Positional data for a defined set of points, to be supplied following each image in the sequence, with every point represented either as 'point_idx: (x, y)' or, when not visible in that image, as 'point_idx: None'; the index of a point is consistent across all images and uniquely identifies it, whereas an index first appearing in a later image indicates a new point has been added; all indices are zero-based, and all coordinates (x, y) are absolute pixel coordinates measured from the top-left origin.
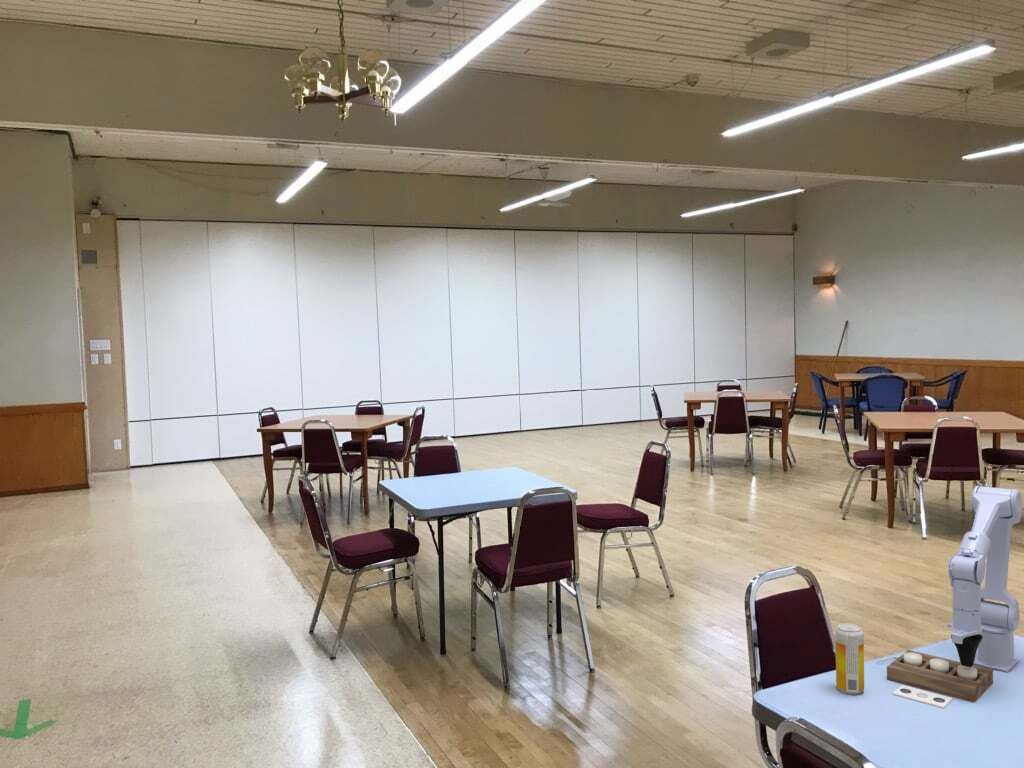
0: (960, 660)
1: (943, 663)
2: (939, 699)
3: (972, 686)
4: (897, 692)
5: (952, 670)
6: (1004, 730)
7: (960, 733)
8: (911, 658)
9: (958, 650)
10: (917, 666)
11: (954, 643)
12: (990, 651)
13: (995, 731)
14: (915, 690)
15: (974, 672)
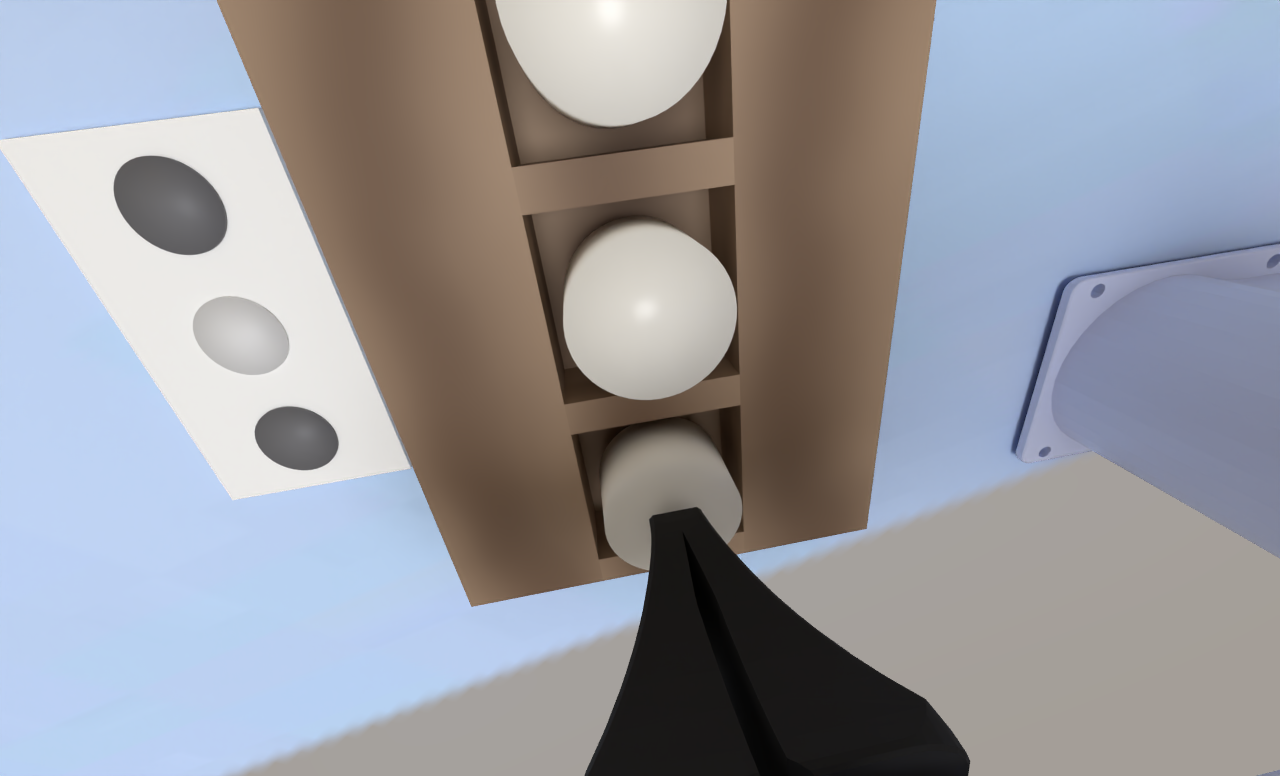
0: (652, 542)
1: (640, 365)
2: (301, 440)
3: (493, 587)
4: (64, 170)
5: None
6: (319, 711)
7: (62, 661)
8: (506, 30)
9: (639, 636)
10: (557, 109)
11: (611, 714)
12: (1155, 431)
13: (269, 703)
14: (276, 254)
15: (648, 566)
